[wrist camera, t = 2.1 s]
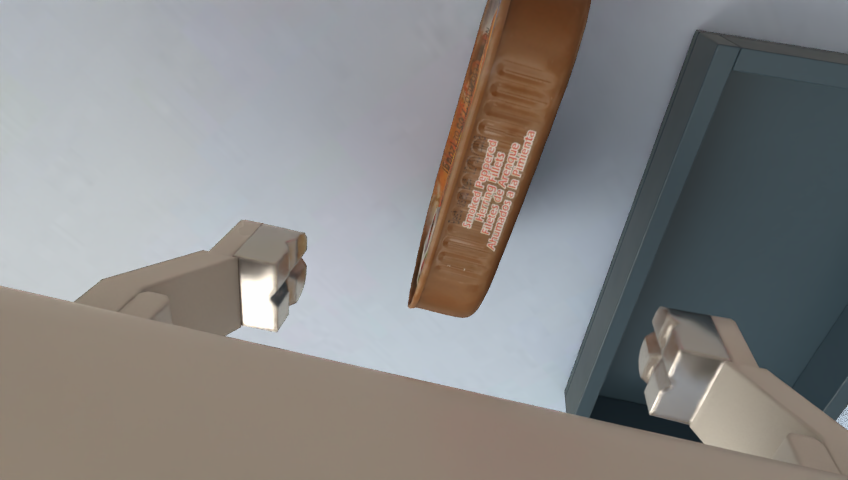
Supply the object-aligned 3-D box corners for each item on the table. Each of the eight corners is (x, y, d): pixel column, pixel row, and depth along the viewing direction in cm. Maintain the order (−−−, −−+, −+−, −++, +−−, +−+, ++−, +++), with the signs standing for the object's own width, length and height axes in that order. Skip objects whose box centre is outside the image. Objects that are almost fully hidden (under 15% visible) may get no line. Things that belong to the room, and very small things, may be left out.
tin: (513, -92, 21) (506, -100, 13) (594, -68, 21) (631, -63, 13) (418, 238, 28) (382, 346, 21) (477, 256, 28) (460, 369, 21)
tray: (564, 391, 32) (567, 432, 29) (695, 29, 22) (718, 43, 19) (769, 435, 31) (791, 481, 29) (1007, 79, 21) (1075, 100, 18)
